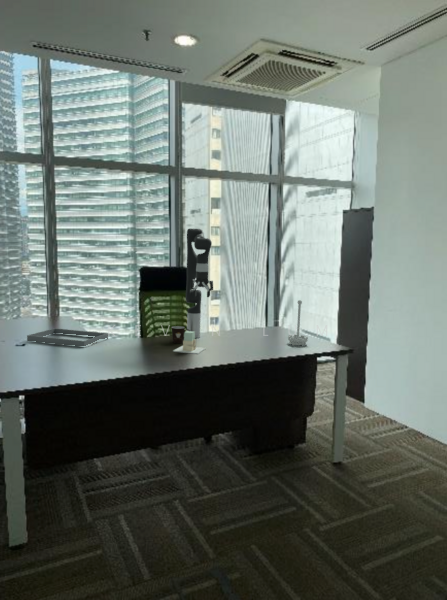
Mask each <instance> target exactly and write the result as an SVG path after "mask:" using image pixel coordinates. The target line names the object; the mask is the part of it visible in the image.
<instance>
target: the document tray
mask: <svg viewBox="0 0 447 600" xmlns="http://www.w3.org/2000/svg"><path fill="white" fill-rule="evenodd" d="M53 333H63V334H76V335H88V336H95V337H94V338H87V339H85V340H79V339H71V338H59V337H52V336H47V337H43V336H46V335H49V334H53ZM26 338H27V339H26V341H36V342H45V343H55V344H64V345H75V346H86V345H88V344H91V343H93V342H95V341H97V340H99V339H105V338H107V339H108V340H109V333H107V332H96V331H95V332H94V331H88V330H87V331H86V330H77V329H68V328H66V329H65V328H56V327H54V328H51V329H46V330H44V331H43V330H42V331H39V332H36V333H31V334H27V335H26ZM36 342H35V343H36ZM45 343H44V344H45Z"/></svg>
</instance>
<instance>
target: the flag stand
mask: <svg viewBox="0 0 447 600" xmlns="http://www.w3.org/2000/svg"><path fill="white" fill-rule="evenodd" d="M297 304H298V306H297V307H298V308H297V324H296V325H297V326H296V329H297V330H296V334H294V335H292V334H289V335H288V337H287V339H288V341H289V343H290V344H292V345H291V346H294V345H305V344H306V345H307V342H308V340H309V337H308V336H307V335H306V336H305V335H303V334H301V335H300V328H301V327H300V325H301V308H302V306H301V305H302V304H303V301H302V300H300V299H299V300H297ZM290 344H289V345H290ZM306 345H305V346H306Z"/></svg>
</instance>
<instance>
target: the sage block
mask: <svg viewBox="0 0 447 600" xmlns="http://www.w3.org/2000/svg"><path fill="white" fill-rule="evenodd" d="M183 337H184V339H183V340H184V341H193V340H196V338H195V332H193V331H187V330H186V331H185V332H184V336H183Z"/></svg>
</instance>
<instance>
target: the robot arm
mask: <svg viewBox="0 0 447 600" xmlns="http://www.w3.org/2000/svg"><path fill="white" fill-rule="evenodd" d="M193 243H194V244H193ZM193 245H194V248H195V250H198V251H199V250H201V251H204V252H201V253H197V254H196V252H195V250H194V248H193ZM211 248H212V240H211V239H210V238H206V237H205V233H204V231H203V229H201V228H188V229H187V231H186V250H187V251H186V255H187V256H186V287H185V289H186V290H185V302H186V304H195V305H194V306H191V307H188V308H187V311H186V313H187V315H186V317H187V318H186V319H187V321H186V329H189V330H190V331H193V332H195V339H198V338H201V317H202V316H201V315H202V314H201V311H202V308H201V307H202V306H201V305H202V291H201V290H200V289H198V288H204V289H205V290H206V297H207V298H210V296H211V292H212V291H213V290H214V280H209V255H210V253H211V252H210V251H211ZM208 284H209V285H208ZM189 330H186V331H189Z"/></svg>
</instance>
